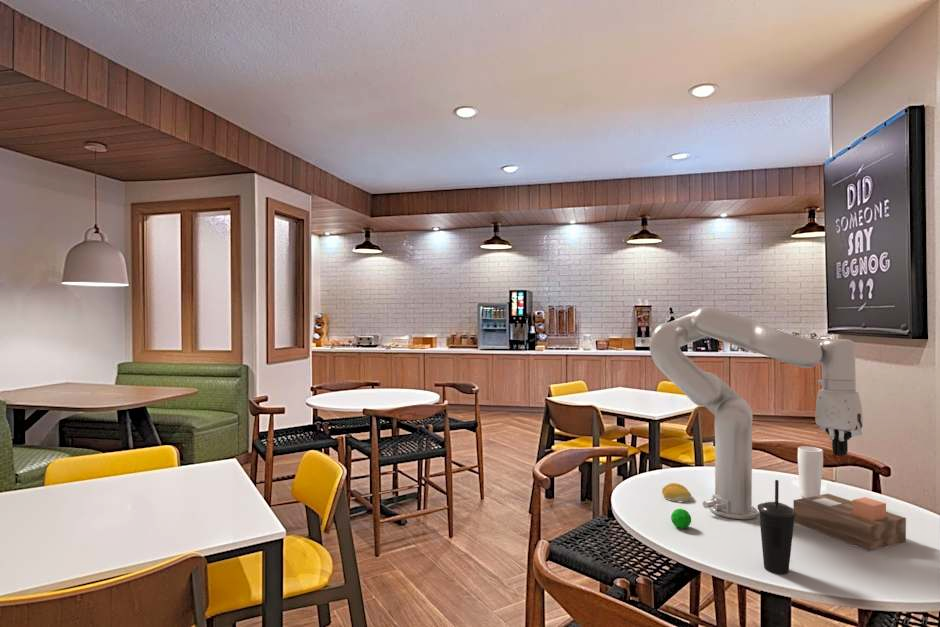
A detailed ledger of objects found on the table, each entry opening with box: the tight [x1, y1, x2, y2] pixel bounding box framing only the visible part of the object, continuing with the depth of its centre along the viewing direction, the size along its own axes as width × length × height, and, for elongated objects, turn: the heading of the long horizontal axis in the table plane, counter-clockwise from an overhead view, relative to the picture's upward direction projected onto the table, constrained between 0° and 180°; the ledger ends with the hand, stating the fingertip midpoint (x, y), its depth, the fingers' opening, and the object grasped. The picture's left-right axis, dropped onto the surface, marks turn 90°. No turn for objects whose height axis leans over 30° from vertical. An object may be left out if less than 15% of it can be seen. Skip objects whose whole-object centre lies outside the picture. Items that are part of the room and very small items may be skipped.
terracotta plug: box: [852, 496, 887, 521], centre depth 143 cm, size 5×5×4 cm
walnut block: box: [792, 493, 907, 552], centre depth 148 cm, size 14×20×6 cm
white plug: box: [812, 498, 842, 507], centre depth 153 cm, size 5×5×4 cm
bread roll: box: [661, 482, 692, 502], centre depth 174 cm, size 8×9×4 cm
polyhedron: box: [670, 508, 692, 529], centre depth 151 cm, size 5×5×5 cm
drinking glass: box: [797, 445, 824, 498], centre depth 174 cm, size 7×7×15 cm
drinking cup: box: [757, 479, 796, 575], centre depth 126 cm, size 8×8×20 cm
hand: (840, 454), depth 150 cm, fingers closed
